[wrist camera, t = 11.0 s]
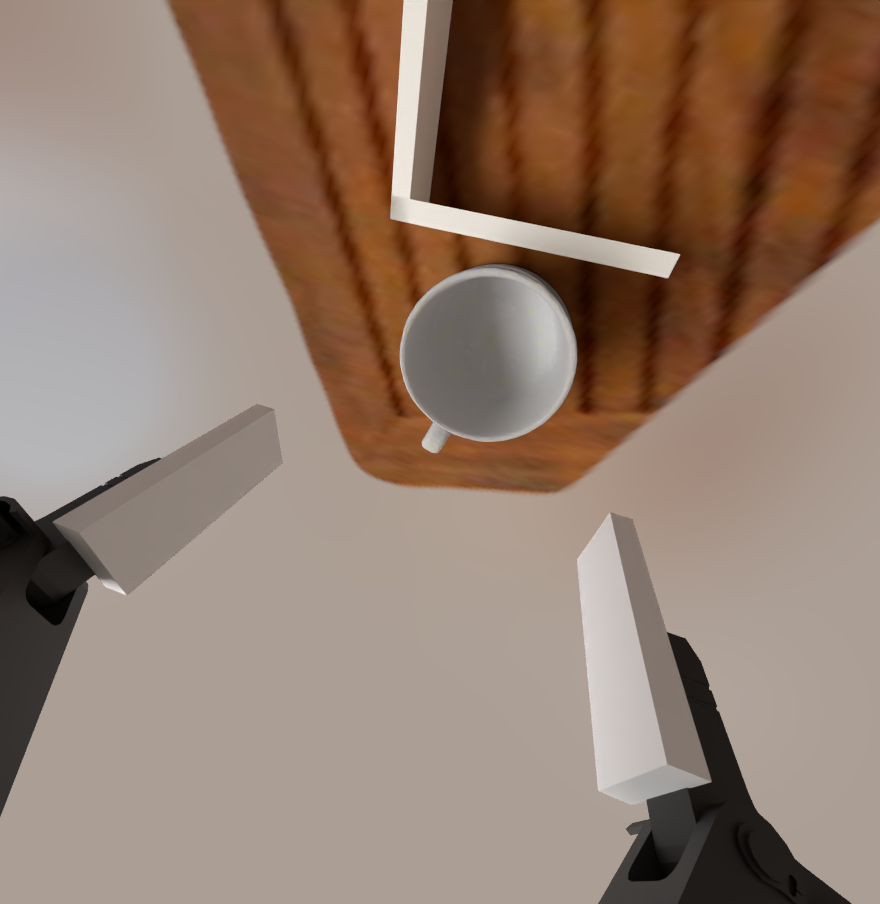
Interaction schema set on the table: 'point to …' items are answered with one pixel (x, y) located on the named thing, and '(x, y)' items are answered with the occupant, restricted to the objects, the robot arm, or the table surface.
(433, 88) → the white u-shaped frame
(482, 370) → the teacup
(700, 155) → the table surface
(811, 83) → the table surface
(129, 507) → the robot arm
